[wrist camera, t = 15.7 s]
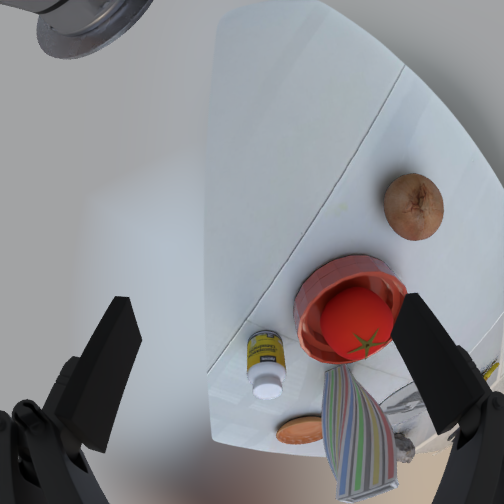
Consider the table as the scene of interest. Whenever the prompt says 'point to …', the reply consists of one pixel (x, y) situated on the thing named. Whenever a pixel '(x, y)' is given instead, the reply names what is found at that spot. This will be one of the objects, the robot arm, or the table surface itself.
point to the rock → (404, 448)
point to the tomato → (356, 323)
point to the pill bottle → (266, 364)
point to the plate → (403, 404)
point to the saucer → (301, 431)
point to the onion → (413, 207)
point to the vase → (356, 439)
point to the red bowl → (332, 283)
